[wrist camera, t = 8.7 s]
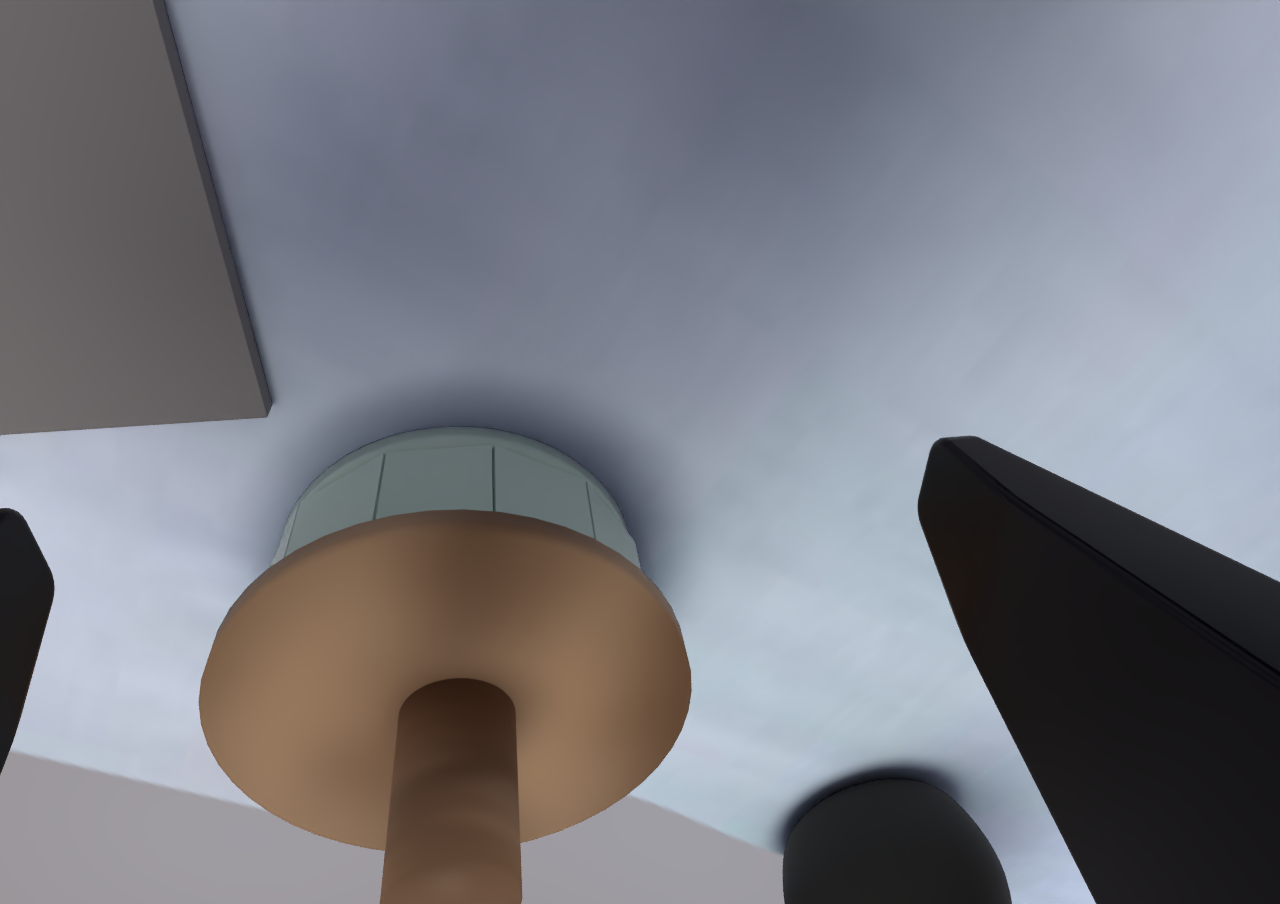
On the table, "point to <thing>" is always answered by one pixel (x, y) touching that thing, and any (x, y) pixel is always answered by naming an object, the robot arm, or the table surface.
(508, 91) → the table surface
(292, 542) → the prep bowl
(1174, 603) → the robot arm
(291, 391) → the table surface
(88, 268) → the mat
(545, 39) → the table surface
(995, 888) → the cola bottle
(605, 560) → the lid
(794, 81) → the table surface
